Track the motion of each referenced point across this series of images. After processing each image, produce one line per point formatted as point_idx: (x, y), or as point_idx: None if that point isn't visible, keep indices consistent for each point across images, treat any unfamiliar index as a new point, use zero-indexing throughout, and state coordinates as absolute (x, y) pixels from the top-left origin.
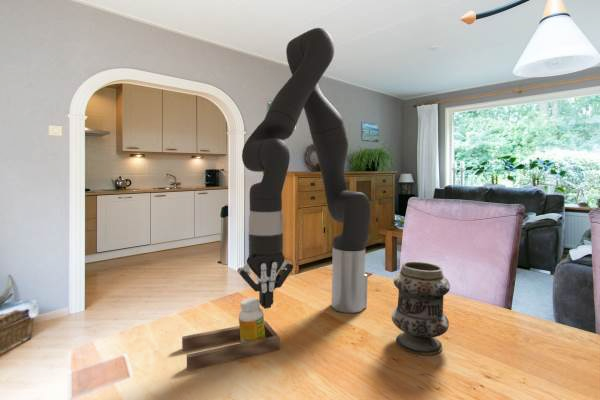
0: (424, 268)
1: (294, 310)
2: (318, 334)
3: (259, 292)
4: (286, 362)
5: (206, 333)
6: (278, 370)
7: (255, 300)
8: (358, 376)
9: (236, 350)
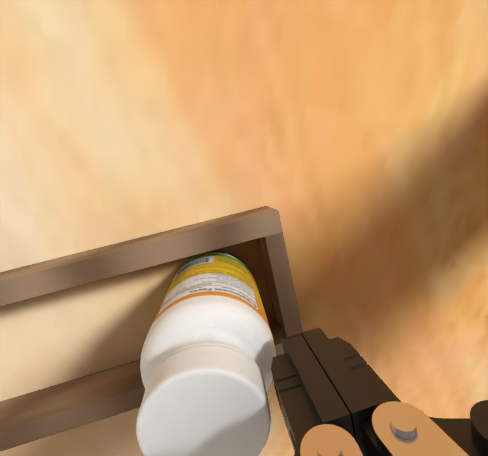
0: None
1: (417, 28)
2: (427, 256)
3: (294, 438)
4: None
5: (7, 294)
6: (270, 423)
7: (246, 425)
8: None
9: None
